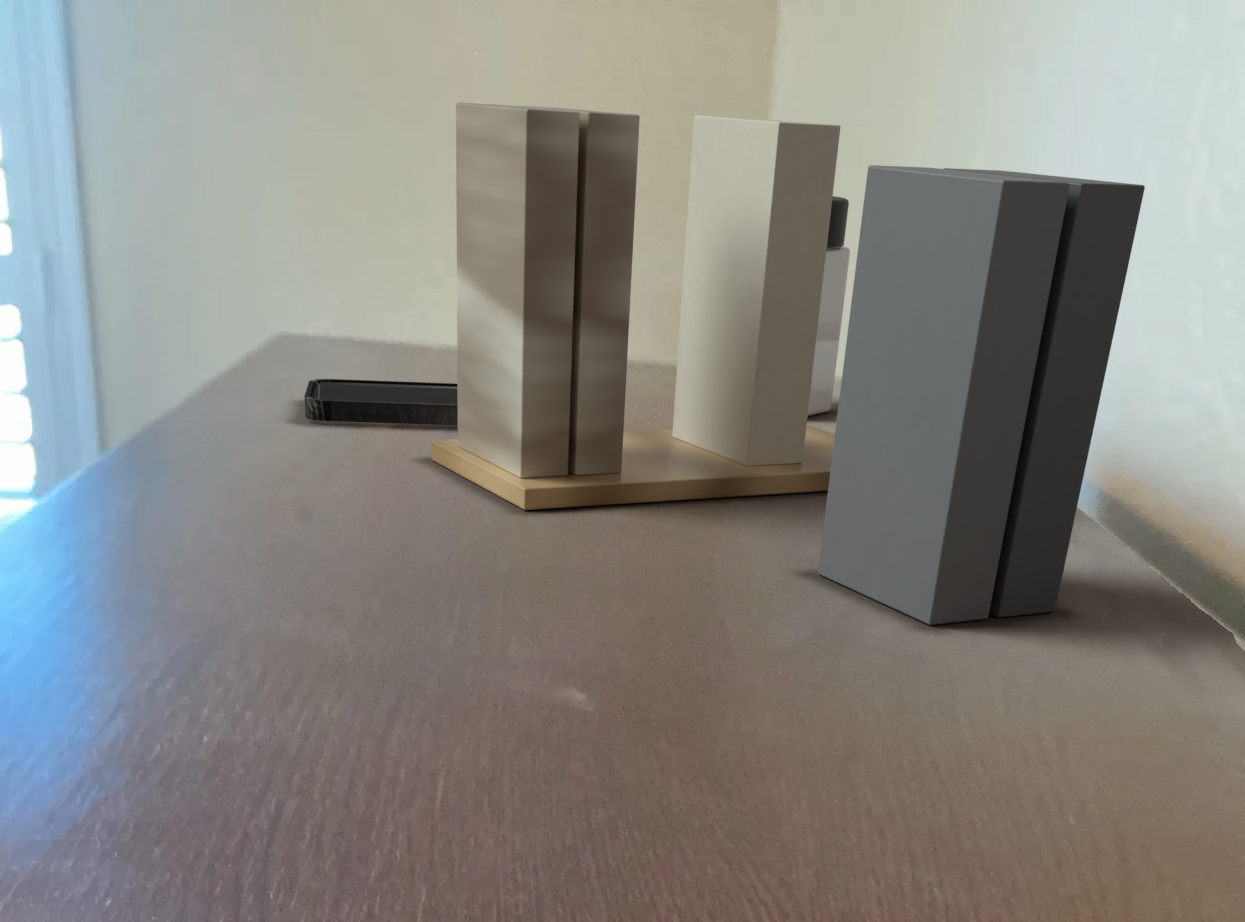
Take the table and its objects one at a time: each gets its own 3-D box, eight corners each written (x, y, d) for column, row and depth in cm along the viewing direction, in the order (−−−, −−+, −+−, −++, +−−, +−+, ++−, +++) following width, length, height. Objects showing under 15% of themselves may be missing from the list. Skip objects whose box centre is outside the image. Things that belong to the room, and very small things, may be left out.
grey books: (936, 563, 69) (1001, 171, 60) (1055, 612, 63) (1146, 185, 54) (816, 574, 66) (867, 165, 58) (929, 626, 60) (1003, 180, 52)
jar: (829, 402, 104) (853, 196, 97) (832, 422, 97) (859, 203, 91) (698, 392, 105) (713, 187, 98) (692, 412, 98) (708, 194, 91)
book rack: (803, 442, 91) (840, 123, 82) (925, 485, 83) (981, 133, 74) (430, 460, 82) (425, 100, 73) (524, 511, 73) (531, 110, 64)
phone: (309, 378, 94) (552, 386, 96) (311, 398, 95) (551, 406, 96) (303, 400, 88) (563, 408, 89) (304, 422, 88) (562, 429, 90)
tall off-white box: (725, 435, 87) (752, 119, 78) (802, 463, 81) (841, 125, 72) (671, 437, 85) (693, 115, 77) (746, 466, 79) (779, 122, 71)
